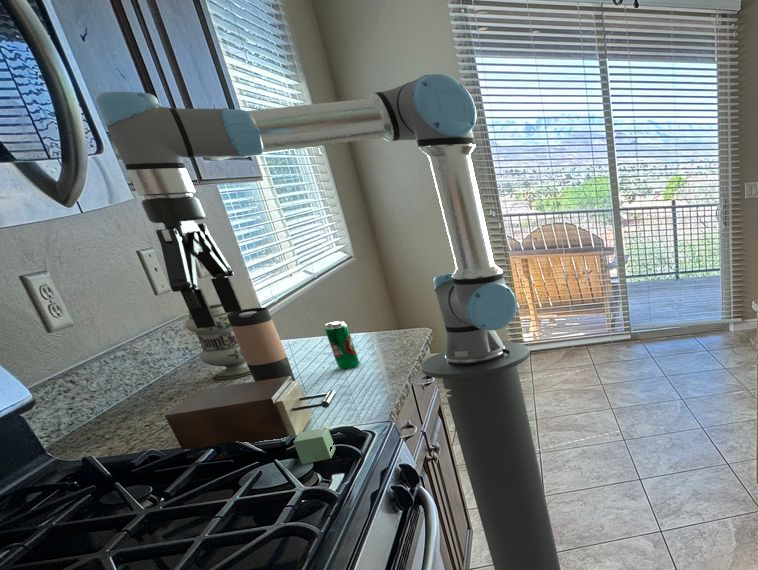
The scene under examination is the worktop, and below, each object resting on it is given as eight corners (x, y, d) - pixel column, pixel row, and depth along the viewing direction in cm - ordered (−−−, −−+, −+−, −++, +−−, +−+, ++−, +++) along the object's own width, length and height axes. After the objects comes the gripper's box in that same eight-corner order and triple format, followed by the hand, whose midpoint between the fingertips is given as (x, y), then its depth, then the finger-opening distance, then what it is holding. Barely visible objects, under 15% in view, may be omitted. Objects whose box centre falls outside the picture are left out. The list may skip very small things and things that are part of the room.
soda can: (335, 368, 151) (319, 324, 146) (355, 362, 155) (340, 319, 150) (344, 371, 149) (328, 326, 144) (363, 365, 152) (349, 321, 147)
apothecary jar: (230, 367, 157) (202, 303, 149) (275, 364, 158) (249, 299, 150) (198, 382, 146) (165, 313, 138) (246, 378, 147) (217, 310, 139)
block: (335, 448, 105) (327, 427, 103) (331, 458, 102) (322, 436, 100) (308, 454, 104) (299, 432, 102) (302, 464, 100) (292, 441, 98)
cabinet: (308, 419, 119) (290, 376, 115) (291, 445, 107) (271, 398, 103) (217, 435, 114) (195, 390, 110) (189, 464, 102) (164, 415, 98)
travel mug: (282, 388, 139) (249, 307, 130) (308, 388, 137) (276, 307, 128) (253, 399, 132) (216, 315, 123) (280, 401, 130) (244, 315, 122)
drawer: (346, 409, 121) (333, 374, 117) (334, 432, 110) (320, 394, 107) (228, 429, 114) (211, 393, 110) (204, 455, 103) (185, 416, 100)
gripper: (173, 196, 106) (221, 308, 115) (101, 201, 85) (166, 337, 94) (221, 193, 108) (265, 303, 117) (163, 197, 87) (221, 331, 96)
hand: (221, 318), depth 106 cm, fingers open, 13 cm apart
